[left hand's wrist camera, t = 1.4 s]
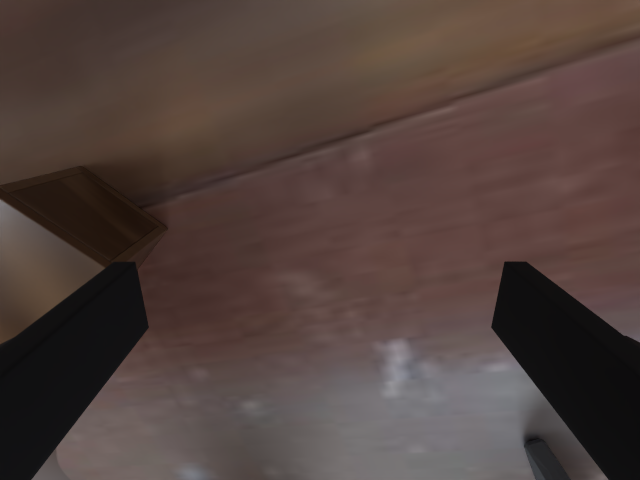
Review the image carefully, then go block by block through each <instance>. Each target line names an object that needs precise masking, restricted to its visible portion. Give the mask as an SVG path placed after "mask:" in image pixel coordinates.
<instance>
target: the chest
mask: <svg viewBox="0 0 640 480" xmlns="http://www.w3.org/2000/svg"><path fill="white" fill-rule="evenodd" d="M0 189H2V190H3V191H5V192H6V193H8V194H9V195H11V196H12V197H14V198H15V199H17V200H18V201H20V202H21V203H23V204H24V205H26V206H27V207H29V208H30V209H32V210H33V211H35V212H36V213H38V214H39V215H41V216H42V217H44V218H45V219H47V220H48V221H50V222H51V223H53V224H54V225H56V226H57V227H59V228H60V229H62V230H63V231H65V232H66V233H68V234H69V235H71V236H72V237H74V238H75V239H77V240H78V241H80V242H81V243H83V244H84V245H86V246H87V247H89V248H90V249H92V250H93V251H95V252H96V253H98V254H99V255H101V256H102V257H104V258H105V259H107V260H108V261H110V262H111V263H113V262H136V267H137V270H138V268H139V267H140V265H141V264H142V263H143V261H144V260H145V259H146V257H147V256H148V255H149V253H150V252H151V251H152V249H153V248H154V247H155V245H156V244H157V243H158V241H159V240H160V239H161V237H162V236H163V235H164V233H165V232H166V231H167V229H168V228H167V227H165V226H164V225H163V224H161V223H160V222H158V221H157V220H156V219H154V218H153V217H152V216H150V215H149V214H147V213H146V212H145V211H143V210H142V209H140V208H139V207H138V206H136V205H135V204H133V203H132V202H131V201H129V200H128V199H127V198H125V197H124V196H122V195H121V194H120V193H118V192H117V191H115V190H114V189H113V188H111V187H110V186H109V185H107V184H106V183H104V182H103V181H102V180H100V179H99V178H97V177H96V176H95V175H93V174H92V173H90V172H89V171H88V170H86V169H85V168H84V167H82V166H78V167H75V168H71V169H66V170H62V171H58V172H54V173H50V174H46V175H42V176H38V177H33V178H29V179H25V180H21V181H17V182H13V183H9V184H5V185H0Z"/></svg>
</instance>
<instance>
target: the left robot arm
mask: <svg viewBox="0 0 640 480" xmlns="http://www.w3.org/2000/svg"><path fill="white" fill-rule="evenodd" d="M148 328H149V326H148V321H147V316H146V311H145V307H144V302H143V297H142V292H141V287H140V282H139V277H138V272H137V267H136V262H113V263H111V264H110V265H109V266H107V267H106V268H105V269H104V270H102V271H101V272H100V273H98V274H97V275H96V276H94V277H93V278H92V279H90V280H89V281H88V282H86V283H85V284H84V285H82V286H81V287H80V288H79V289H77V290H76V291H75V292H73V293H72V294H71V295H69V296H68V297H67V298H65V299H64V300H63V301H61V302H60V303H59V304H57V305H56V306H55V307H53V308H52V309H51V310H50V311H48V312H47V313H46V314H44V315H43V316H42V317H40V318H39V319H38V320H36V321H35V322H34V323H32V324H31V325H30V326H28V327H27V328H26V329H24V330H23V331H22V332H21V333H19V334H18V335H17V336H15V337H13V338H11V339H9V340H7V341H5V342H3V343H1V344H0V480H31V479H32V478H33V477H34V476H35V474H36V473H37V472H38V470H39V469H40V468H41V466H42V465H43V464H44V463H45V461H46V460H47V459H48V457H49V456H50V455H51V453H52V452H53V451H54V450H55V448H56V447H57V446H58V444H59V443H60V442H61V441H62V439H63V438H64V437H65V435H66V434H67V433H68V431H69V430H70V429H71V428H72V426H73V425H74V424H75V422H76V421H77V420H78V418H79V417H80V416H81V415H82V413H83V412H84V411H85V409H86V408H87V407H88V406H89V404H90V403H91V402H92V400H93V399H94V398H95V396H96V395H97V394H98V393H99V391H100V390H101V389H102V387H103V386H104V385H105V383H106V382H107V381H108V380H109V378H110V377H111V376H112V374H113V373H114V372H115V370H116V369H117V368H118V367H119V365H120V364H121V363H122V361H123V360H124V359H125V358H126V356H127V355H128V354H129V352H130V351H131V350H132V348H133V347H134V346H135V345H136V343H137V342H138V341H139V339H140V338H141V337H142V335H143V334H144V333H145V332H146V330H147V329H148ZM491 328H492V329H493V330H494V332H495V333H496V334H497V335H498V337H499V338H500V339H501V341H502V342H503V343H504V345H505V346H506V347H507V348H508V350H509V351H510V352H511V354H512V355H513V356H514V358H515V359H516V360H517V361H518V363H519V364H520V365H521V367H522V368H523V369H524V370H525V372H526V373H527V374H528V376H529V377H530V378H531V380H532V381H533V382H534V383H535V385H536V386H537V387H538V389H539V390H540V391H541V393H542V394H543V395H544V396H545V398H546V399H547V400H548V402H549V403H550V404H551V406H552V407H553V408H554V409H555V411H556V412H557V413H558V415H559V416H560V417H561V418H562V420H563V421H564V422H565V424H566V425H567V426H568V428H569V429H570V430H571V431H572V433H573V434H574V435H575V437H576V438H577V439H578V441H579V442H580V443H581V444H582V446H583V447H584V448H585V450H586V451H587V452H588V453H589V455H590V456H591V457H592V459H593V460H594V461H595V463H596V464H597V465H598V466H599V468H600V469H601V470H602V472H603V473H604V474H605V476H606V477H607V478H608V479H609V480H640V342H638V341H636V340H634V339H632V338H630V337H628V336H623V335H622V334H621V333H619V332H618V331H617V330H616V329H614V328H613V327H612V326H610V325H609V324H608V323H606V322H605V321H604V320H602V319H601V318H600V317H598V316H597V315H596V314H594V313H593V312H592V311H590V310H589V309H588V308H587V307H585V306H584V305H583V304H581V303H580V302H579V301H577V300H576V299H575V298H573V297H572V296H571V295H569V294H568V293H567V292H565V291H564V290H563V289H561V288H560V287H559V286H558V285H556V284H555V283H554V282H552V281H551V280H550V279H548V278H547V277H546V276H544V275H543V274H542V273H540V272H539V271H538V270H536V269H535V268H534V267H533V266H531V265H530V264H529V263H527V262H504V267H503V272H502V277H501V282H500V287H499V292H498V297H497V302H496V307H495V311H494V316H493V321H492V326H491Z"/></svg>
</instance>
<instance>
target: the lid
mask: <svg viewBox="0 0 640 480" xmlns="http://www.w3.org/2000/svg"><path fill="white" fill-rule="evenodd" d="M110 264H111V262H110V261H108V260H107V259H105V258H104V257H102V256H101V255H99V254H98V253H96V252H95V251H93V250H92V249H90V248H89V247H87V246H86V245H84V244H83V243H81V242H80V241H78V240H77V239H75V238H74V237H72V236H71V235H69V234H68V233H66V232H65V231H63V230H62V229H60V228H59V227H57V226H56V225H54V224H53V223H51V222H50V221H48V220H47V219H45V218H44V217H42V216H41V215H39V214H38V213H36V212H35V211H33V210H32V209H30V208H29V207H27V206H26V205H24V204H23V203H21V202H20V201H18V200H17V199H15V198H14V197H12V196H11V195H9V194H8V193H6V192H5V191H3V190H2V189H0V344H1V343H3V342H5V341H7V340H9V339H11V338H13V337H15V336H17V335H18V334H19V333H21V332H22V331H23V330H24V329H26V328H27V327H28V326H30V325H31V324H32V323H34V322H35V321H36V320H38V319H39V318H40V317H42V316H43V315H44V314H46V313H47V312H48V311H50V310H51V309H52V308H53V307H55V306H56V305H57V304H59V303H60V302H61V301H63V300H64V299H65V298H67V297H68V296H69V295H71V294H72V293H73V292H75V291H76V290H77V289H79V288H80V287H81V286H82V285H84V284H85V283H86V282H88V281H89V280H90V279H92V278H93V277H94V276H96V275H97V274H98V273H100V272H101V271H102V270H104V269H105V268H106V267H107V266H109V265H110Z"/></svg>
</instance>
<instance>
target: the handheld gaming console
mask: <svg viewBox="0 0 640 480" xmlns="http://www.w3.org/2000/svg"><path fill="white" fill-rule="evenodd" d="M524 447H525V451H526V454H527V456H528V459H529V462H530V465H531V467H532V470H533V473H534V476H535V479H536V480H570V478H569V477H568V475H567V474H566V472H565V471H564V469H563V468H562V466H561V465H560V463H559V462H558V460H557V459H556V457H555V456H554V454H553V453H552V451H551V450H550V448H549V447H548V446H547V444H546V443H545V442H544V441H543V440H542V439H536V440H532V441H529V442H526V443H525V445H524Z"/></svg>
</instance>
